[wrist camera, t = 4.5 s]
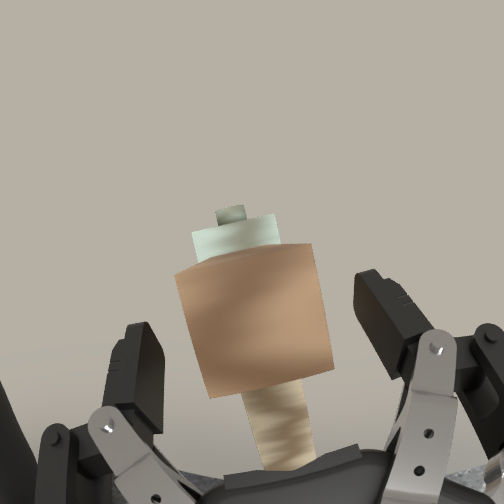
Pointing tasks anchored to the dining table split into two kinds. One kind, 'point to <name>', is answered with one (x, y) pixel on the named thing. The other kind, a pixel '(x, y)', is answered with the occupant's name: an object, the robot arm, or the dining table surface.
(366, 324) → the robot arm
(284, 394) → the wooden pedestal column
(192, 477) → the dining table surface
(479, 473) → the dining table surface
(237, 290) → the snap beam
